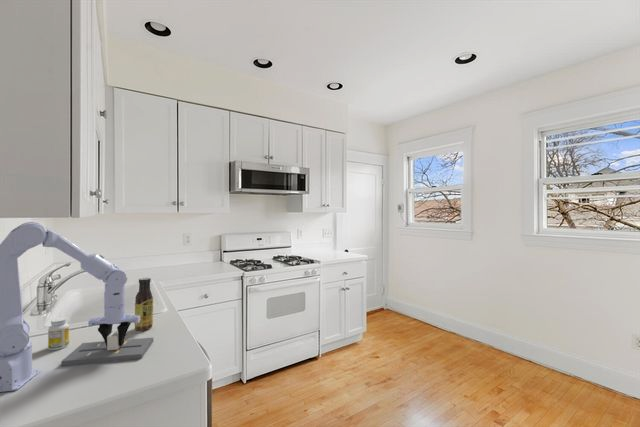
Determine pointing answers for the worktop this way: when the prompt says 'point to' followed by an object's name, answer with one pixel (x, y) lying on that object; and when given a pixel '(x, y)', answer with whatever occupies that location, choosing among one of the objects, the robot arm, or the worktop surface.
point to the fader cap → (113, 341)
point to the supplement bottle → (58, 334)
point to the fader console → (107, 352)
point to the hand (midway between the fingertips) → (115, 345)
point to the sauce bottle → (144, 305)
